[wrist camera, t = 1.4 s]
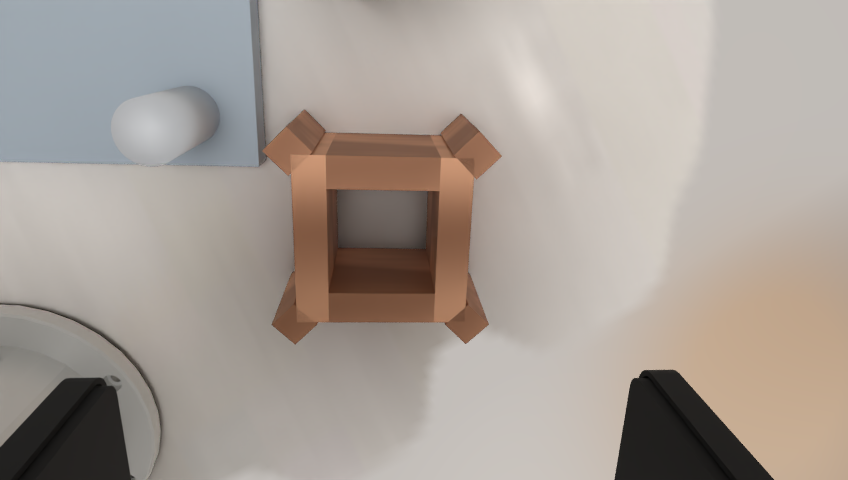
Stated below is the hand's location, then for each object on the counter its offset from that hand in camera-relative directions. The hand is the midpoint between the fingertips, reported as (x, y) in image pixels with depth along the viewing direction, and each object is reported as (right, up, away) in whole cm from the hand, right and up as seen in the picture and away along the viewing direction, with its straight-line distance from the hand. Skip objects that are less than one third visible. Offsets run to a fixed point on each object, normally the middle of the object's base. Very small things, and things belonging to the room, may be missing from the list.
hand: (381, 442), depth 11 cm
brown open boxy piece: (-1, +5, +15) cm, 16 cm away
